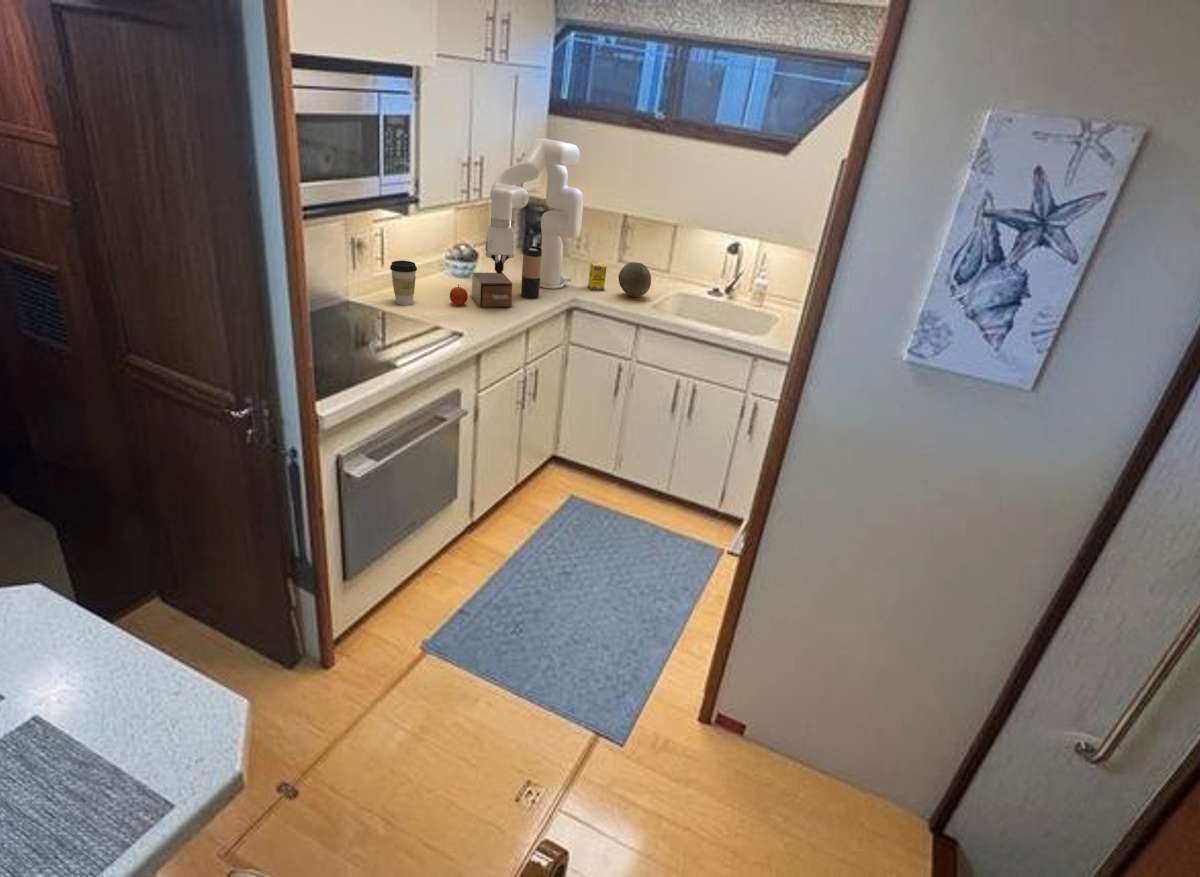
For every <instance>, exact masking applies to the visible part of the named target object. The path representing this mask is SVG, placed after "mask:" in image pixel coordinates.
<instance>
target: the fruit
mask: <svg viewBox="0 0 1200 877" xmlns="http://www.w3.org/2000/svg"><path fill="white" fill-rule="evenodd" d="M468 298H469V293H468V291H467V290H466V288H464V287H461V286H459V284H457V286H455V287H453V288H452V289H451V290H450V291H449V300H450V302H451V303H452V304H453V305H455V306H459V307H460V306H464V305H465V304H466V303H467V301H468V300H469V299H468Z"/></svg>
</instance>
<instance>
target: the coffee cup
mask: <svg viewBox="0 0 1200 877" xmlns="http://www.w3.org/2000/svg"><path fill="white" fill-rule="evenodd" d="M389 269H390V270H391V281H392V286H393V293H394V298H395V303H396V304H398V305H400V306H411V305H413V304H414V294H415V289H416V288H415V287H416V275H417V274H416V272H417V270H418V267H417V265H416V263H415V262H414V261H411V260H395V261H392V262H391V264H390V266H389Z"/></svg>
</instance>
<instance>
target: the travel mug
mask: <svg viewBox="0 0 1200 877" xmlns="http://www.w3.org/2000/svg"><path fill="white" fill-rule="evenodd" d="M522 251H523V253H522V266H521V267H522V268H521V288H520V289H521V290H520V291H521V292H520V293H521V297H522V298H524V299H527V300H528V299H529V300H536V299H538V298H539V294H540V275H541V258H542V249H541V247H539V246H533V245H532V246H529V247H528V246H524V247H523V250H522Z"/></svg>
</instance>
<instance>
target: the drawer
mask: <svg viewBox="0 0 1200 877" xmlns="http://www.w3.org/2000/svg"><path fill="white" fill-rule="evenodd" d="M511 298H512V299H513V285H512V286H509V285H483V288H482V306H511V307H512V303H511Z"/></svg>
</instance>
